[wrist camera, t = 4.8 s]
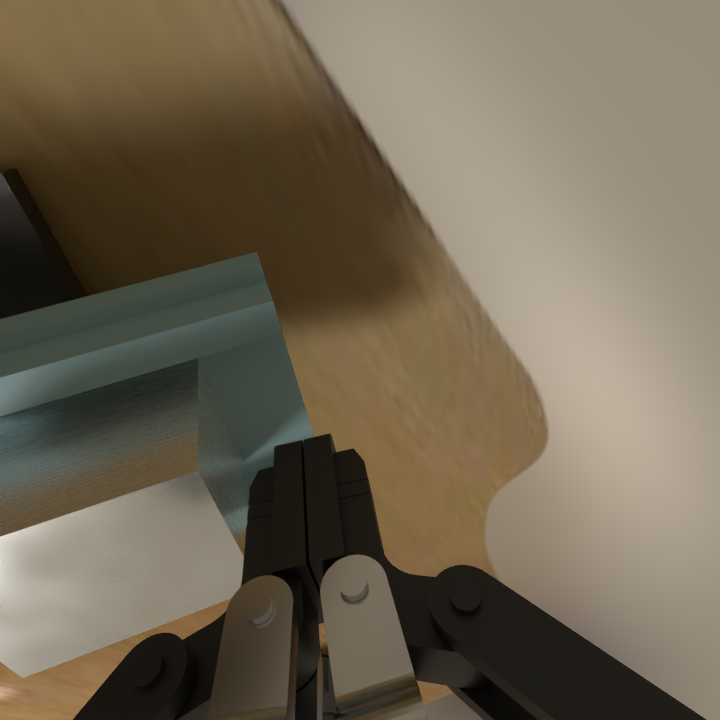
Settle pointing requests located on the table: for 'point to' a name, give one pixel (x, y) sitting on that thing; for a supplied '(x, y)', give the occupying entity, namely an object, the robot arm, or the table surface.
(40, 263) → the beam stand
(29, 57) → the table surface
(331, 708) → the flashlight
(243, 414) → the seesaw beam
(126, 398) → the steel slider
